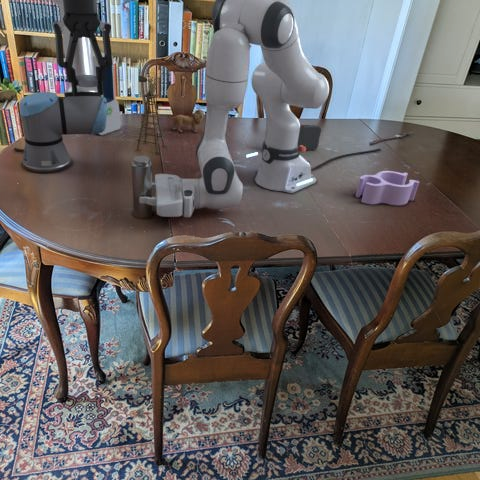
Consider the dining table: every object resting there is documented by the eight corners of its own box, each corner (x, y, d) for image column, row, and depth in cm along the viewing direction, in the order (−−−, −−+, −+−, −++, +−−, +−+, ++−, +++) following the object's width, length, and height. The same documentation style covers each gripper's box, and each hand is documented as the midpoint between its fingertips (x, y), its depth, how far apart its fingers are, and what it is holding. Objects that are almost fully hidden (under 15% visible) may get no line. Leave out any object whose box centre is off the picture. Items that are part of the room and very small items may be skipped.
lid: (79, 79, 122) (78, 73, 121) (101, 82, 122) (101, 75, 121) (72, 85, 117) (71, 79, 116) (95, 88, 117) (94, 82, 116)
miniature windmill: (157, 154, 175) (156, 71, 159) (135, 150, 176) (133, 68, 160) (165, 145, 182) (165, 66, 166) (144, 142, 183) (143, 62, 167)
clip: (368, 208, 154) (373, 189, 150) (349, 190, 163) (353, 172, 160) (418, 203, 160) (424, 185, 156) (397, 187, 170) (402, 169, 166)
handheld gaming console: (315, 147, 196) (319, 124, 190) (317, 149, 194) (322, 126, 188) (264, 149, 189) (267, 125, 183) (266, 152, 187) (269, 127, 181)
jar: (155, 215, 138) (155, 160, 128) (139, 220, 135) (137, 164, 125) (146, 207, 141) (145, 153, 132) (130, 211, 138) (128, 157, 129)
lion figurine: (201, 127, 203) (202, 107, 198) (204, 132, 199) (205, 111, 194) (168, 129, 198) (168, 108, 193) (170, 133, 194) (171, 112, 189)
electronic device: (99, 136, 184) (93, 56, 168) (85, 131, 187) (78, 52, 171) (121, 128, 194) (118, 52, 177) (108, 124, 197) (103, 48, 180)
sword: (408, 132, 223) (408, 130, 222) (413, 134, 221) (414, 132, 220) (365, 144, 207) (365, 141, 206) (370, 146, 205) (370, 144, 204)
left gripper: (39, -5, 101) (52, 101, 114) (124, -2, 110) (127, 96, 122) (33, -10, 106) (46, 91, 119) (114, -7, 115) (119, 87, 128)
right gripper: (184, 168, 144) (138, 168, 141) (191, 200, 127) (139, 200, 124) (184, 187, 147) (139, 187, 144) (190, 220, 130) (139, 221, 127)
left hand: (87, 94), depth 121 cm, fingers closed on lid, 6 cm apart
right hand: (139, 193), depth 134 cm, fingers closed on jar, 5 cm apart
